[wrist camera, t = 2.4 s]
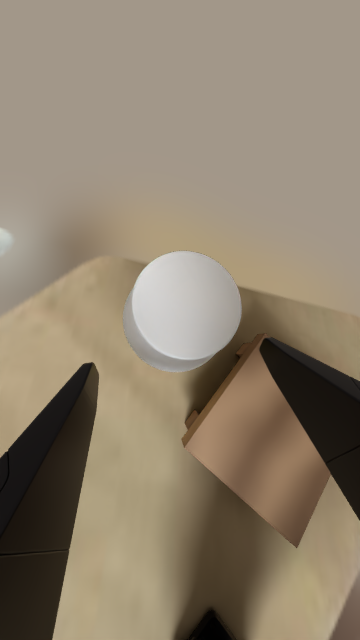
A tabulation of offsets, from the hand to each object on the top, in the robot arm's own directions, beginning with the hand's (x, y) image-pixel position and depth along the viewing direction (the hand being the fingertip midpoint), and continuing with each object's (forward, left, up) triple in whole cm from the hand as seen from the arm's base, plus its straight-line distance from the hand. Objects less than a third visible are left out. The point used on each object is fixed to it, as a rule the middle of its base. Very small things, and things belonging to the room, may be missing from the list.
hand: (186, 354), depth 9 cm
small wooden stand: (-11, -3, -9) cm, 15 cm away
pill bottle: (+2, -1, -9) cm, 10 cm away
